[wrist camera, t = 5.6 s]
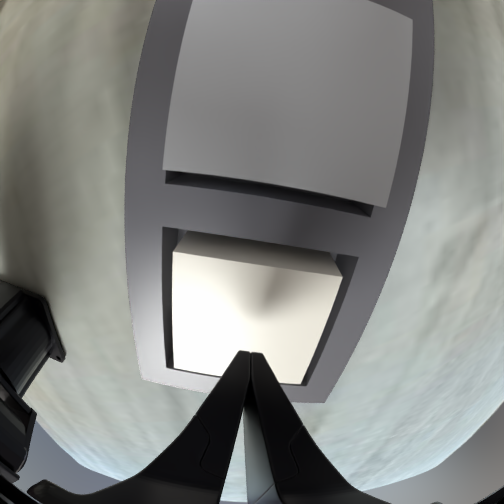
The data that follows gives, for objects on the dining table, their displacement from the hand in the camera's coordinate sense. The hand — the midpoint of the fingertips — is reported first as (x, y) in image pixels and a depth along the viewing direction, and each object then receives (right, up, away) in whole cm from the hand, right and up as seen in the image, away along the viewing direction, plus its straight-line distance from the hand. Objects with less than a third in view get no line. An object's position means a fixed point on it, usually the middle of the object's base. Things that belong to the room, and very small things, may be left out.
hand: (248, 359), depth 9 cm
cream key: (0, +2, +4) cm, 4 cm away
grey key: (+1, +9, -1) cm, 9 cm away
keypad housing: (+1, +10, +1) cm, 10 cm away
